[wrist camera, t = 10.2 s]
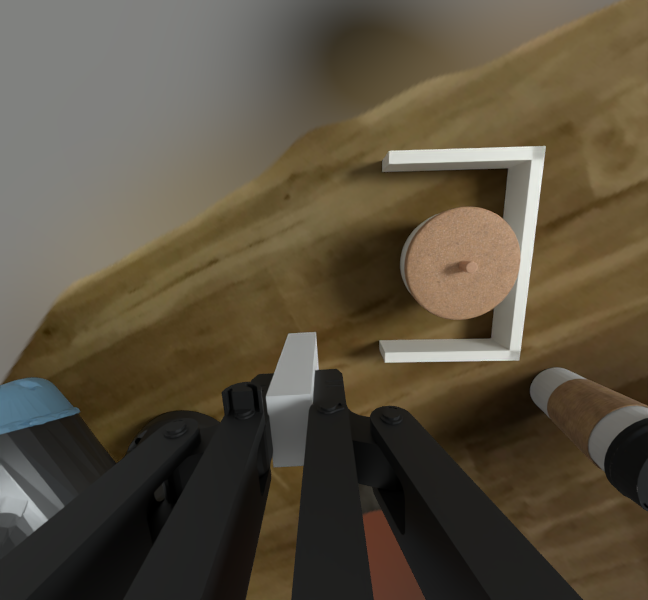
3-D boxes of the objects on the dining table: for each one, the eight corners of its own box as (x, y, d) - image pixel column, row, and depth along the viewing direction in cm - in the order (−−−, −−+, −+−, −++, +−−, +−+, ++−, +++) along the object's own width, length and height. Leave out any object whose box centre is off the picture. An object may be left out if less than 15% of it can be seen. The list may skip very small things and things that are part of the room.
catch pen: (379, 349, 38) (384, 362, 35) (382, 160, 34) (389, 150, 30) (499, 347, 38) (519, 360, 34) (520, 156, 33) (545, 146, 29)
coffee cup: (506, 387, 39) (611, 479, 25) (561, 345, 38) (706, 415, 23) (544, 428, 40) (666, 539, 26) (599, 388, 39) (760, 482, 24)
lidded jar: (376, 235, 35) (393, 236, 26) (464, 196, 34) (513, 183, 25) (408, 316, 37) (434, 342, 28) (492, 281, 36) (547, 297, 27)
